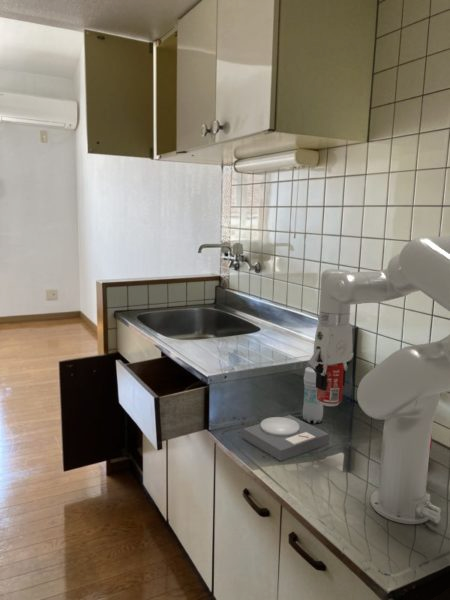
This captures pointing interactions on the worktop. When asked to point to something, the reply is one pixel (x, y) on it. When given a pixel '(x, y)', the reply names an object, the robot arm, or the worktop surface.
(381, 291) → the robot arm
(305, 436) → the scale
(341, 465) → the worktop surface
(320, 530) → the worktop surface
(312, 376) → the bottle
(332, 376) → the beverage can
